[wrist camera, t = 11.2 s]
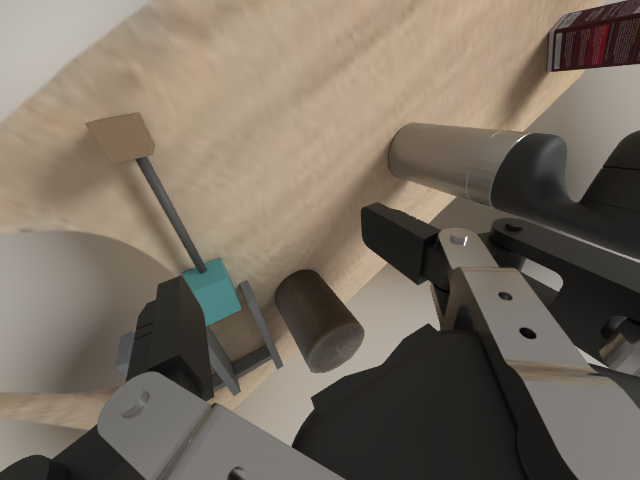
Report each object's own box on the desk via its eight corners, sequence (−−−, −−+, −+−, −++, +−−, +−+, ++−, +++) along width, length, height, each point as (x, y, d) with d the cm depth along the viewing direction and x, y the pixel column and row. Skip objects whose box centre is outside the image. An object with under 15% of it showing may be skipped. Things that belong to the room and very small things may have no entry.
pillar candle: (299, 260, 41) (348, 322, 30) (330, 281, 48) (380, 338, 36) (263, 302, 42) (297, 378, 30) (298, 317, 48) (338, 385, 37)
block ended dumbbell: (150, 110, 23) (146, 112, 19) (234, 288, 37) (243, 314, 32) (88, 120, 21) (68, 126, 17) (201, 302, 35) (206, 332, 31)
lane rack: (247, 280, 38) (256, 300, 34) (274, 345, 48) (283, 365, 44) (121, 336, 32) (115, 367, 28) (182, 396, 42) (184, 425, 38)
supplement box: (560, 56, 52) (678, 43, 40) (545, 73, 52) (659, 64, 40) (565, 11, 46) (703, -20, 34) (548, 30, 46) (681, 5, 34)
